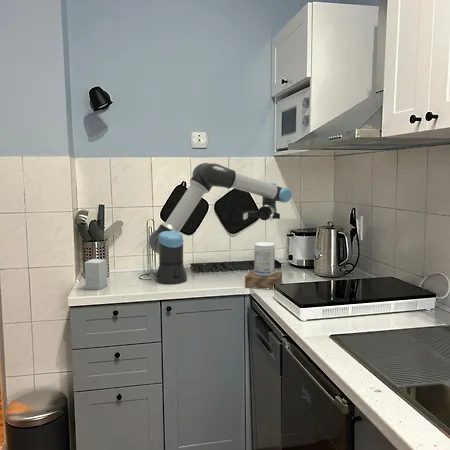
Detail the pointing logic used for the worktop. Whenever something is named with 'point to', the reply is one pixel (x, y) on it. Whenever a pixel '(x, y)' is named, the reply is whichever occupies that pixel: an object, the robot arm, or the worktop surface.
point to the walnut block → (262, 280)
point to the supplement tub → (264, 258)
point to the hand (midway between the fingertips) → (257, 217)
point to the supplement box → (95, 274)
